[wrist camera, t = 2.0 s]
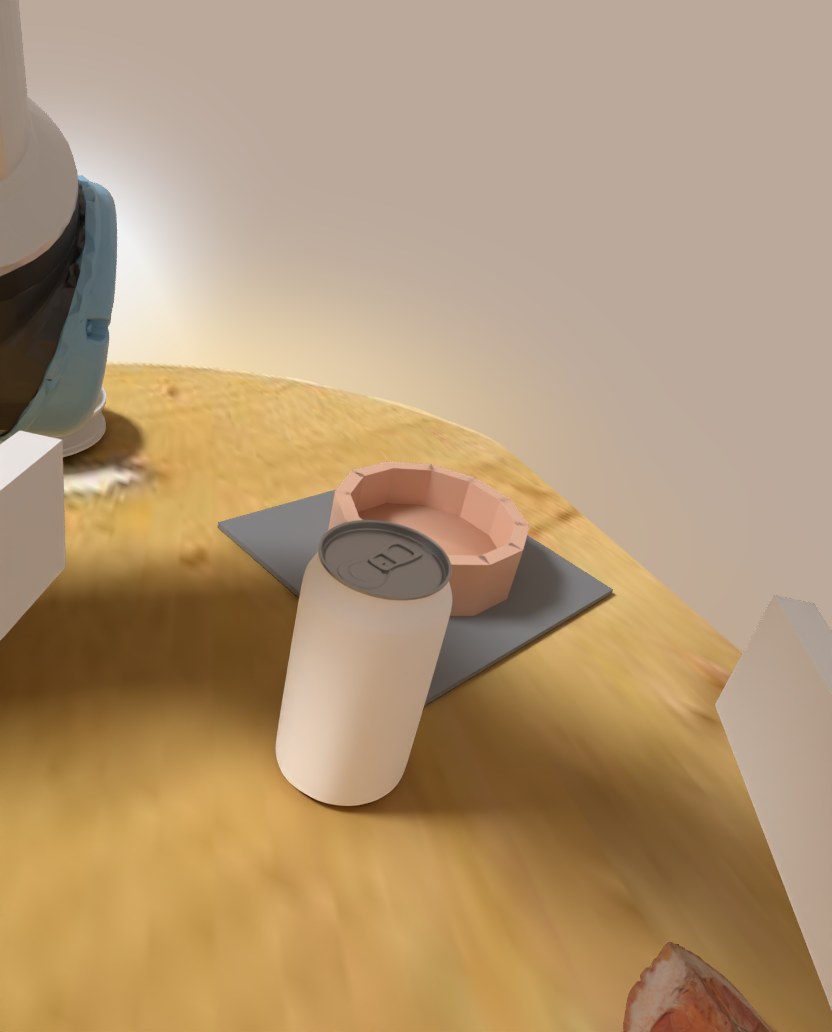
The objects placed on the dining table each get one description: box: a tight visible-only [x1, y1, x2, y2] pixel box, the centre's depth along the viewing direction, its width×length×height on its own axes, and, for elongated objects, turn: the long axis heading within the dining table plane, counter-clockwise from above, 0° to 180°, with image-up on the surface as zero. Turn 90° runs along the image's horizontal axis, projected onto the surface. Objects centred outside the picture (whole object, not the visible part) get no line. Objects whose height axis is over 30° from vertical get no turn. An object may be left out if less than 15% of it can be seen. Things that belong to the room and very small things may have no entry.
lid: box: [0, 387, 106, 457], centre depth 57 cm, size 13×13×5 cm
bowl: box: [328, 461, 530, 616], centre depth 53 cm, size 13×13×4 cm
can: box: [276, 520, 452, 806], centre depth 34 cm, size 6×6×12 cm
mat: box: [218, 490, 613, 706], centre depth 54 cm, size 20×20×1 cm
